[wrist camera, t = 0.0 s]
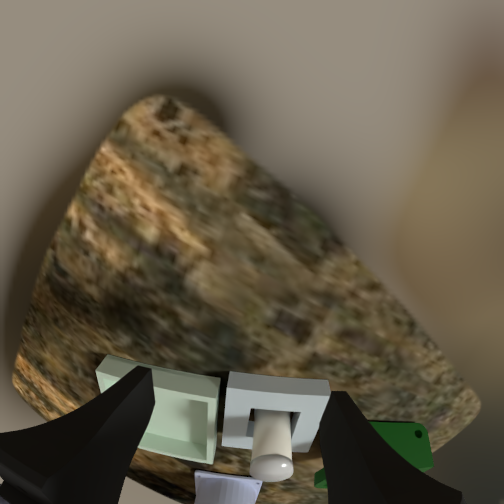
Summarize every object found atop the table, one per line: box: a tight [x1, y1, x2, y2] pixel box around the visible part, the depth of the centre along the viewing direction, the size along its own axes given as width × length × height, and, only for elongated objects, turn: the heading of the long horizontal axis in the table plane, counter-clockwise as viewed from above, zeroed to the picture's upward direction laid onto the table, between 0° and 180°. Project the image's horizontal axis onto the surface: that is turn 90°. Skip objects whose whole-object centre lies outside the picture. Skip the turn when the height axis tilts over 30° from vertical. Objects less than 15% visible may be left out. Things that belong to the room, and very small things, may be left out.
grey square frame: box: [222, 371, 331, 452], centre depth 23 cm, size 8×8×2 cm
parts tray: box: [95, 354, 221, 464], centre depth 23 cm, size 10×10×2 cm
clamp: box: [314, 422, 434, 488], centre depth 22 cm, size 12×6×9 cm, turn 68°
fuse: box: [250, 409, 293, 482], centre depth 20 cm, size 3×3×7 cm
